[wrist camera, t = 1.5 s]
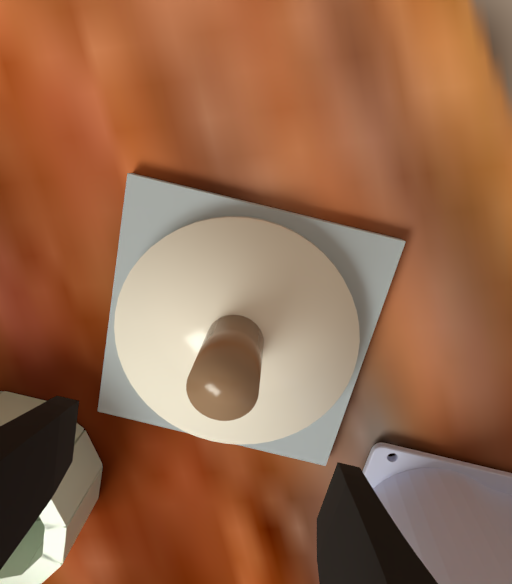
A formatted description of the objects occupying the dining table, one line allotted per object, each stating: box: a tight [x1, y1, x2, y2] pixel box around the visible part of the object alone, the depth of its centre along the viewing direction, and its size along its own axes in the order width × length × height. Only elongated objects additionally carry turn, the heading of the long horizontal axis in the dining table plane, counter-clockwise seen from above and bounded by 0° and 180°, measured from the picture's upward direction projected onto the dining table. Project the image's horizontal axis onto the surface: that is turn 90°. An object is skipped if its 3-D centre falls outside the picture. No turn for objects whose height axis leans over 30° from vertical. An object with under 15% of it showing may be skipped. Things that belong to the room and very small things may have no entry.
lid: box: [114, 216, 360, 445], centre depth 17 cm, size 11×11×5 cm
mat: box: [98, 173, 406, 466], centre depth 19 cm, size 12×12×1 cm
